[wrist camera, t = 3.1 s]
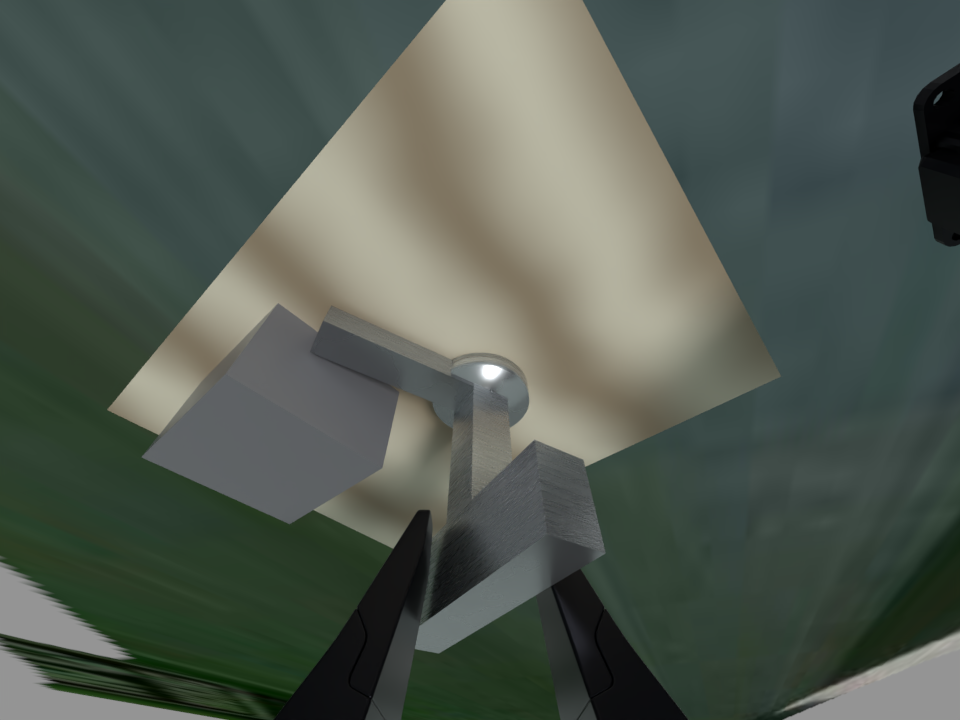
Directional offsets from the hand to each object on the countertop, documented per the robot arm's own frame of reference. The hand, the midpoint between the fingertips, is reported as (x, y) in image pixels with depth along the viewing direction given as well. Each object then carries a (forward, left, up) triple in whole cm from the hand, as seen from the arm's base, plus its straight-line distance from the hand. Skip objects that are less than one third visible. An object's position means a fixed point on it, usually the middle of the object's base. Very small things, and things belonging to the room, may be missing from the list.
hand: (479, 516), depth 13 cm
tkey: (+1, -2, -6) cm, 6 cm away
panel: (+2, -1, -8) cm, 8 cm away
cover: (+6, -5, -6) cm, 10 cm away
